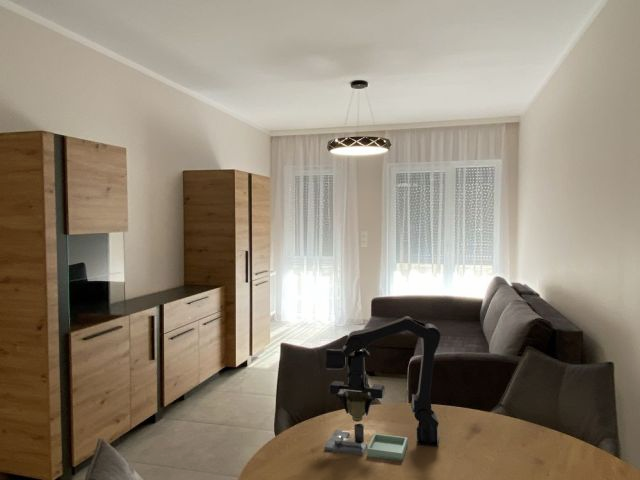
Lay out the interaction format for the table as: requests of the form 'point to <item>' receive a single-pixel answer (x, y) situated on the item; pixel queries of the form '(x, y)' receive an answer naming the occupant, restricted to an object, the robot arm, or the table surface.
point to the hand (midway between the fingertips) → (357, 414)
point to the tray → (387, 447)
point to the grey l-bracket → (344, 445)
